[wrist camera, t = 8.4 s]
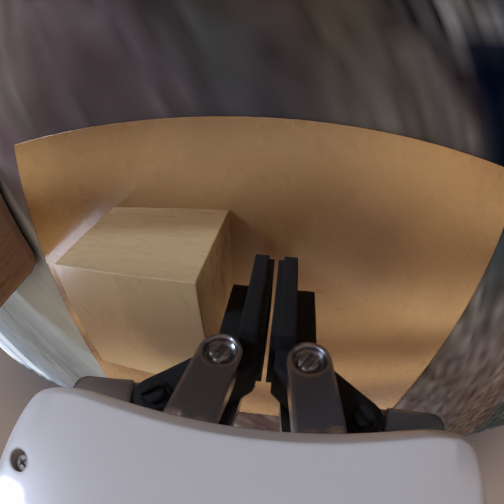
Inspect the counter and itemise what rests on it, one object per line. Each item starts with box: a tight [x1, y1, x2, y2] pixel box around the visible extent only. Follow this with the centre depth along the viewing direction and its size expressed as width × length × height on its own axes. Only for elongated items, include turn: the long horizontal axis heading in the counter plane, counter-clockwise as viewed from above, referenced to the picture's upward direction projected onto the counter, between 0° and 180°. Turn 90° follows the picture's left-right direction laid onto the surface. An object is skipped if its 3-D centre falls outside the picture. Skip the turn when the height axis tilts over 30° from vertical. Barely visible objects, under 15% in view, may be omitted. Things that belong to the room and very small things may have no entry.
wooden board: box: [14, 116, 504, 416], centre depth 17 cm, size 24×28×1 cm
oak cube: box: [54, 207, 233, 374], centre depth 12 cm, size 6×6×5 cm
